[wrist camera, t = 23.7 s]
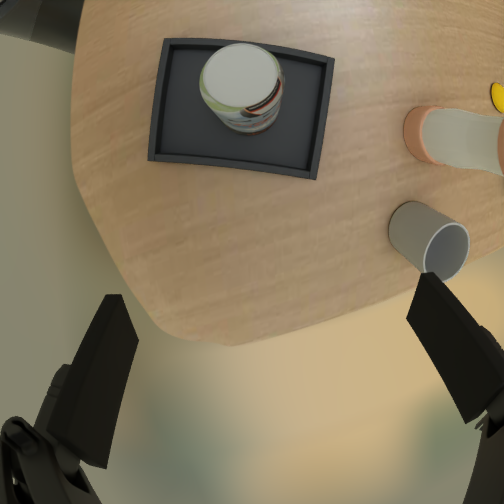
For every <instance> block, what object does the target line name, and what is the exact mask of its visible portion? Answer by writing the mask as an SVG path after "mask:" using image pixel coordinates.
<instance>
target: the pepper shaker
mask: <svg viewBox="0 0 504 504" xmlns="http://www.w3.org/2000/svg"><path fill="white" fill-rule="evenodd" d="M403 129H404V139H405V142H406V146H407V147H408V149H409V151H410V152H411V154H413V155H414V156H415V157H416V158H417V159H419V160H421V161H424V162H428V163H431V164H435V165H443V166H444V165H450V166H453V167H456V168H466V169H481V170H484V171H488V172H491V173H494V174H497V175H501V176H504V117H496V116H487V115H479V114H476V113H472V112H469V111H465V110H461V109H457V108H451V109H445V108H444V107H440V106H420V107H417V108H414V109H413V110H412V111H410V112H409V114H408V115H407V117H406V119H405V123H404V127H403Z"/></svg>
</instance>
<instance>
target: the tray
mask: <svg viewBox="0 0 504 504" xmlns="http://www.w3.org/2000/svg"><path fill="white" fill-rule="evenodd" d="M239 43H245V44H252V45H255V46H258V47H260V48H263V49H265V50H266V51H268V52H270V53H271V54H272V55H273V56H274V57H275V58H276V59H277V60H278V61H279V63H280V65H281V66H282V69H283V71H284V76H285V87H284V91H283V96H282V100H281V105H280V109H279V113H278V117H277V119H276V121H275V122H274V124H273V125H272V126H271V127H270V128H269V129H268V130H266V131H265V132H262V133H260V134H257V135H250V136H248V135H241V134H238V133H235V132H233V131H232V130H230V129H229V128H228V127H227V126H226V125H225V124H224V123H223V122H222V121H221V120H220V118H219V117H218V116H217V115H216V114H215V113H214V112H213V111H212V110H211V108H210V107H209V106H208V105H207V104H206V102H205V101H204V99H203V97H202V95H201V91H200V84H199V81H200V75H201V72H202V69H203V67H204V65H205V64H206V62H207V61H208V60H209V59H210V57H211V56H212V55H213V54H214V53H216V52H217V51H218V50H220V49H221V48H224V47H226V46H229V45H232V44H239ZM334 62H335V58H331V57H327V56H324V55H320V54H315V53H311V52H307V51H302V50H297V49H292V48H287V47H281V46H275V45H269V44H262V43H255V42H246V41H237V40H225V39H208V38H164V42H163V46H162V52H161V57H160V62H159V68H158V74H157V80H156V87H155V93H154V101H153V108H152V117H151V126H150V136H149V147H148V161H158V162H173V163H187V164H198V165H209V166H219V167H228V168H237V169H245V170H253V171H260V172H268V173H275V174H281V175H288V176H294V177H300V178H306V179H312V180H316V178H317V172H318V167H319V161H320V155H321V150H322V144H323V138H324V132H325V125H326V119H327V113H328V106H329V99H330V92H331V85H332V78H333V70H334Z"/></svg>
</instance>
